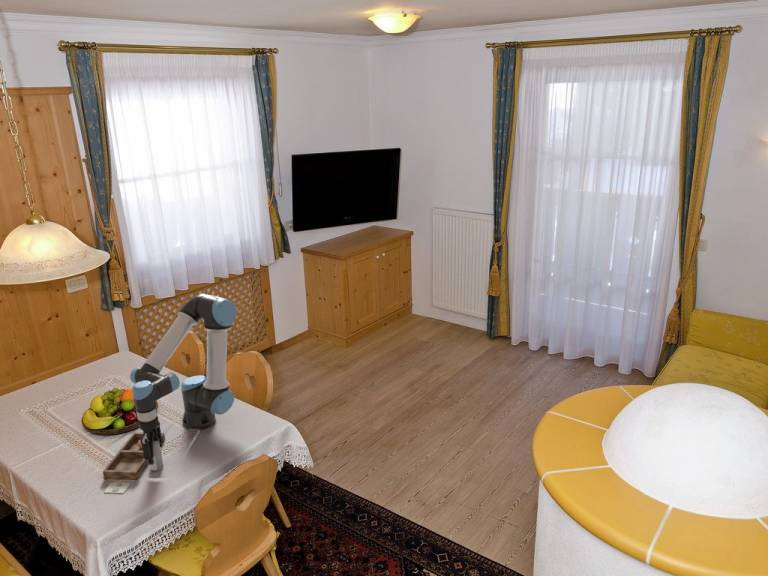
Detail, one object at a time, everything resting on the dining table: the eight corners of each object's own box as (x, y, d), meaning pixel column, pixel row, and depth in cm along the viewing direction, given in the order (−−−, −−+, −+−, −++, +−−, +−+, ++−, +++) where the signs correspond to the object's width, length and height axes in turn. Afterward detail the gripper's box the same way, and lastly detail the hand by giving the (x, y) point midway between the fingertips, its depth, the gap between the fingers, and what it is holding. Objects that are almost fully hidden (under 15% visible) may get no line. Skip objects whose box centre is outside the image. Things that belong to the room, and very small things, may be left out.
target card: (130, 483, 237) (130, 482, 237) (123, 493, 231) (123, 492, 231) (111, 483, 237) (111, 482, 237) (103, 492, 232) (103, 491, 232)
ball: (149, 444, 260) (148, 437, 259) (145, 450, 257) (144, 442, 255) (140, 444, 261) (139, 437, 259) (136, 450, 257) (135, 442, 255)
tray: (165, 440, 265) (164, 433, 264) (137, 480, 239) (136, 472, 237) (135, 439, 266) (134, 432, 264) (104, 479, 240) (102, 471, 238)
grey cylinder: (165, 463, 247) (160, 439, 243) (160, 471, 243) (155, 447, 238) (153, 463, 248) (149, 439, 243) (148, 471, 243) (144, 447, 239)
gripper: (148, 405, 245) (156, 451, 253) (128, 430, 228) (138, 478, 236) (165, 405, 245) (173, 452, 253) (147, 430, 228) (156, 479, 236)
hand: (156, 464), depth 245 cm, fingers closed on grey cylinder, 5 cm apart
